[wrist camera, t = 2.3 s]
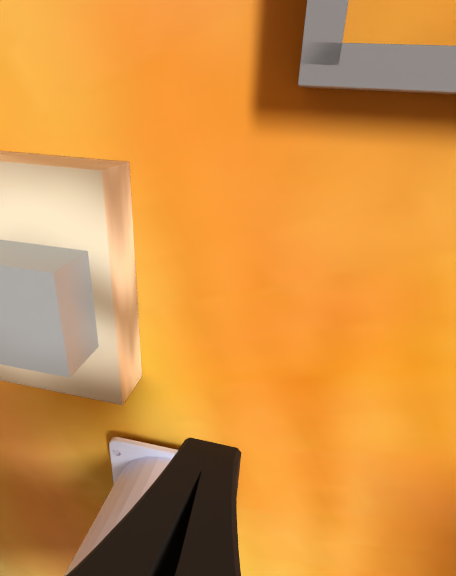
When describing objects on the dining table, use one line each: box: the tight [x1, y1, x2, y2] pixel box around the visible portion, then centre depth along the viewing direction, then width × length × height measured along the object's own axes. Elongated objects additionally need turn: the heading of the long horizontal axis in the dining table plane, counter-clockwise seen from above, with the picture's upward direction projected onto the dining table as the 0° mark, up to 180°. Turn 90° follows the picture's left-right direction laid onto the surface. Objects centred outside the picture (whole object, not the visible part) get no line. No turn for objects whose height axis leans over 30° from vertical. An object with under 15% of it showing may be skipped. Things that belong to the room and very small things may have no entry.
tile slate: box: [0, 240, 99, 378], centre depth 18 cm, size 5×5×2 cm
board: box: [0, 151, 142, 405], centre depth 21 cm, size 12×14×2 cm
